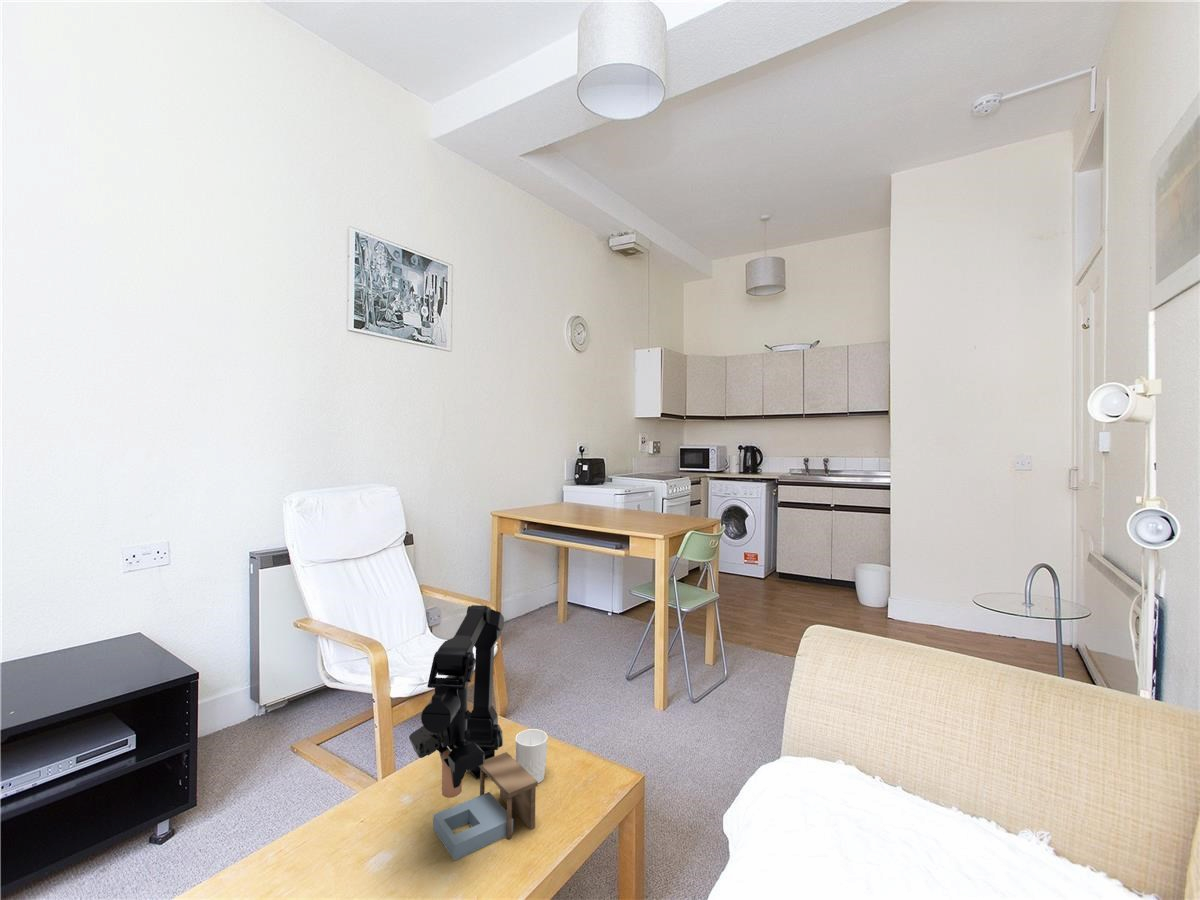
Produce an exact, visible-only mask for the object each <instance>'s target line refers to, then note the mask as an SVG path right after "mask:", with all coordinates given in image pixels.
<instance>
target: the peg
mask: <svg viewBox="0 0 1200 900" xmlns="http://www.w3.org/2000/svg"><path fill="white" fill-rule="evenodd" d="M450 752H451V751H450V750H449V749H447V750H445V751H444V752H443V754H442V761H441V796H443V797H444V798H448V799H449V798H456V797H458V796H459V795H461V793H462V790H463V789H462V787H463V780H462V781H461V783H460V785H459V787H457V788H454V787H453V782H452V775H451V768H450V767H448V765H447V764H446V763H445V761H444V759H447V758H448V755H449V754H450Z"/></svg>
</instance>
